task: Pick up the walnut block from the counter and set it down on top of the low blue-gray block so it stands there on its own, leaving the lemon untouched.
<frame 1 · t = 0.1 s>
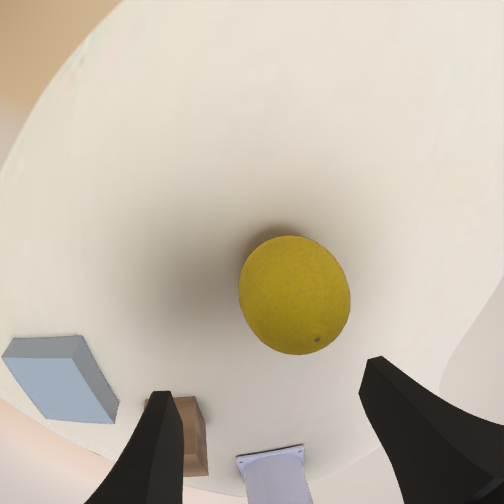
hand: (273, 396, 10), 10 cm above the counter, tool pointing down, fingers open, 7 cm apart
walnut block: (176, 412, 24), on the counter
lemon: (275, 258, 19), on the counter
blue-gray block: (65, 369, 21), on the counter
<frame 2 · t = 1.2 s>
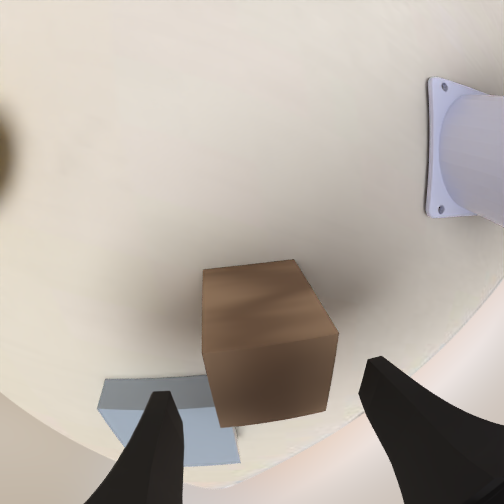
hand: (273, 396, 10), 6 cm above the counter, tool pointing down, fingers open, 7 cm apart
walnut block: (251, 302, 16), on the counter
blue-gray block: (176, 409, 19), on the counter
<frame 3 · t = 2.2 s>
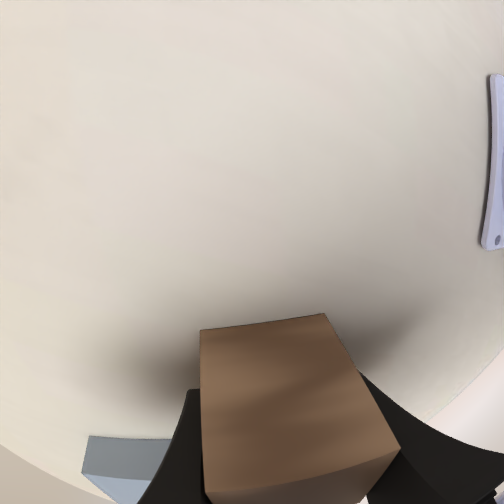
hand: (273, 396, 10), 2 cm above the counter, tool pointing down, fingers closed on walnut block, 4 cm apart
walnut block: (265, 366, 11), on the counter, touching gripper
blue-gray block: (173, 464, 15), on the counter
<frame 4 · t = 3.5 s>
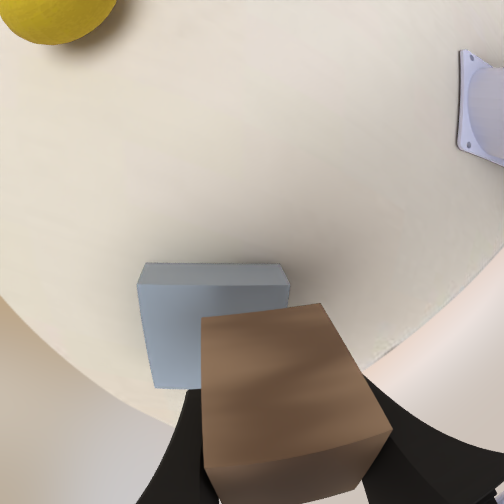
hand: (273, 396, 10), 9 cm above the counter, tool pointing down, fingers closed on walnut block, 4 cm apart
walnut block: (263, 355, 12), point 7 cm above the counter, touching gripper
lemon: (90, 16, 11), on the counter
blue-gray block: (212, 315, 19), on the counter
when the fingers open (6 cm above the counter, at t = 4.7 s): walnut block drops 1 cm, point 3 cm above the counter.
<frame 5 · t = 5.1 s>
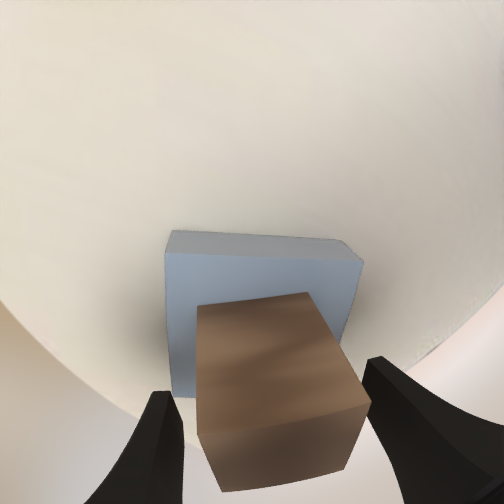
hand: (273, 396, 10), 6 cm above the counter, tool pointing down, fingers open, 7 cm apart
walnut block: (256, 341, 13), point 3 cm above the counter
blue-gray block: (250, 304, 15), on the counter
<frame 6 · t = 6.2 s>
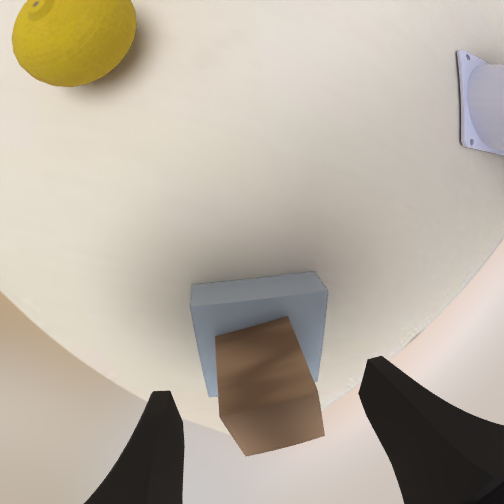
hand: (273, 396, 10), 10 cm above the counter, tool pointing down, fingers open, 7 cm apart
walnut block: (260, 352, 18), point 3 cm above the counter
lemon: (104, 50, 12), on the counter
blue-gray block: (255, 324, 21), on the counter
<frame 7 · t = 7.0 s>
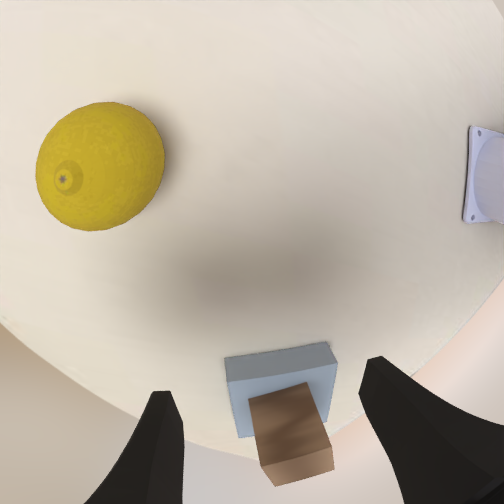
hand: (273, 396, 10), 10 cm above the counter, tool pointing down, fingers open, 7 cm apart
walnut block: (282, 406, 21), point 3 cm above the counter
lemon: (127, 156, 15), on the counter
blue-gray block: (276, 380, 24), on the counter
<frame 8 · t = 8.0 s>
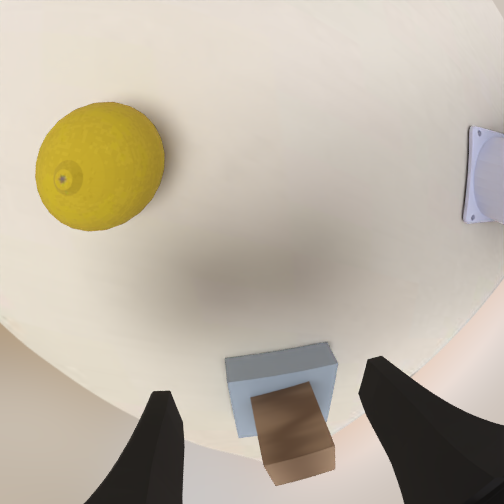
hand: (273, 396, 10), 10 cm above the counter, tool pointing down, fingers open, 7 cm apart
walnut block: (284, 405, 21), point 2 cm above the counter, touching blue-gray block
lemon: (127, 156, 15), on the counter
blue-gray block: (276, 380, 24), on the counter, touching walnut block
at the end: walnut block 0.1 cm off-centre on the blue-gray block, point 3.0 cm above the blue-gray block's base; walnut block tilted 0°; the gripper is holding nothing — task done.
